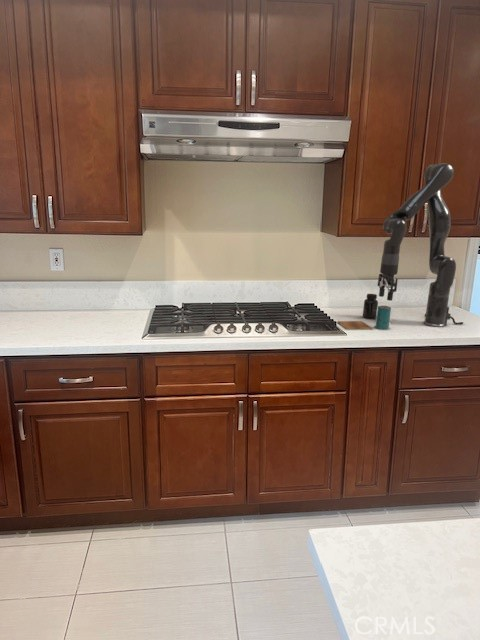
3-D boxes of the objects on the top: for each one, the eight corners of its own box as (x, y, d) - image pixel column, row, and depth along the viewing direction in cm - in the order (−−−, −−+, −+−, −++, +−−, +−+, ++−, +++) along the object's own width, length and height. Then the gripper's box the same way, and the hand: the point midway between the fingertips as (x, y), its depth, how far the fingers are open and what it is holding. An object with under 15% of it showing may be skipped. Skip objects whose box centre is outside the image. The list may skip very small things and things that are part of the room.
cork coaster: (361, 322, 226) (361, 321, 226) (371, 329, 214) (371, 327, 214) (337, 322, 224) (337, 321, 224) (346, 329, 213) (347, 328, 212)
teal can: (385, 326, 220) (387, 305, 218) (390, 329, 215) (393, 308, 212) (373, 326, 220) (375, 305, 217) (378, 329, 214) (381, 308, 211)
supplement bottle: (376, 319, 232) (379, 296, 229) (362, 318, 233) (365, 295, 230) (375, 316, 238) (378, 293, 235) (362, 315, 240) (364, 292, 237)
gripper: (405, 265, 203) (400, 301, 207) (390, 261, 217) (386, 295, 221) (389, 265, 202) (384, 301, 206) (375, 260, 216) (371, 295, 220)
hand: (385, 298), depth 214 cm, fingers open, 8 cm apart
